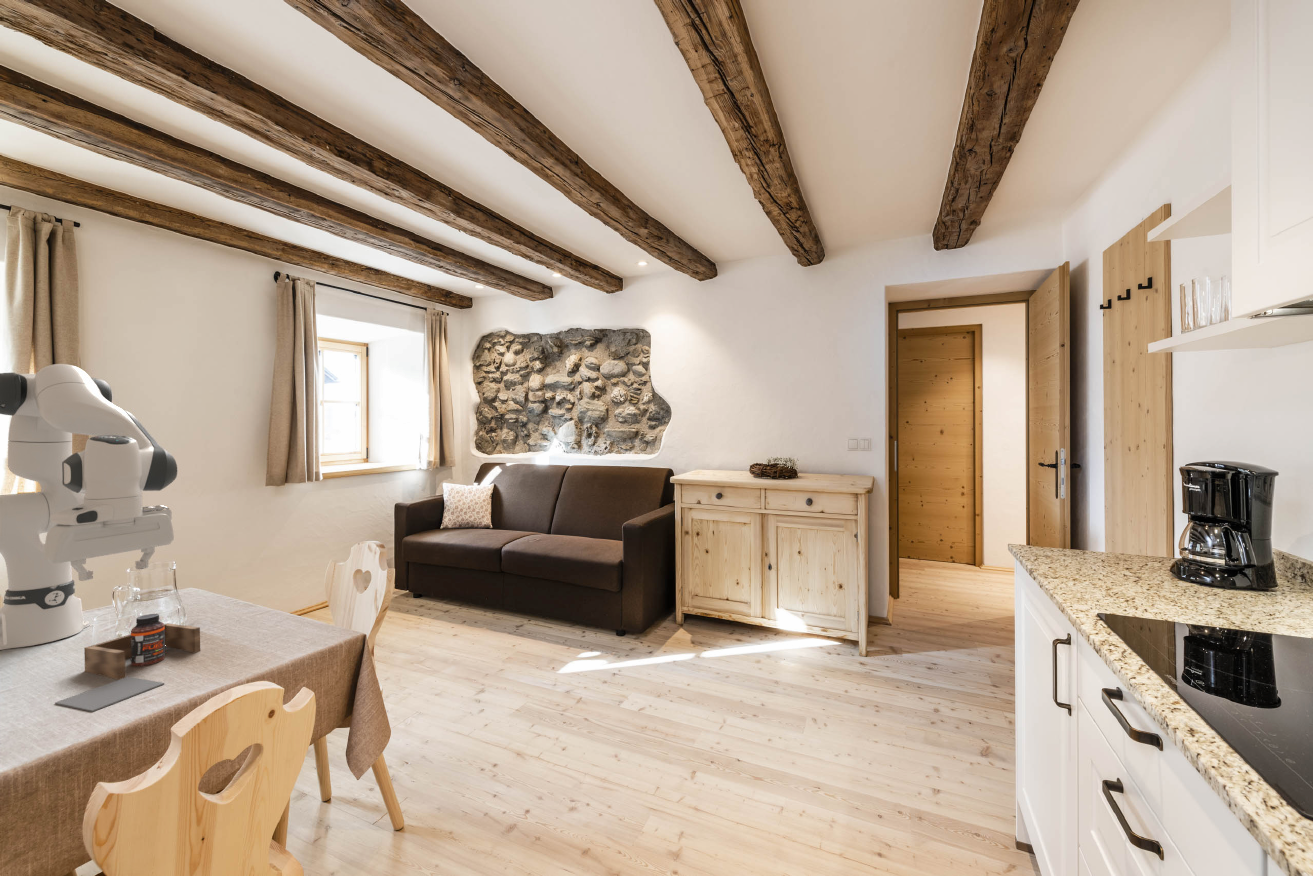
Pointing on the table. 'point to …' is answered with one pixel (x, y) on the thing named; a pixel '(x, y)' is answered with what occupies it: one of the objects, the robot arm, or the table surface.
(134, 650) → the supplement bottle
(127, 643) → the holder
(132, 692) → the mat
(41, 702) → the table surface
